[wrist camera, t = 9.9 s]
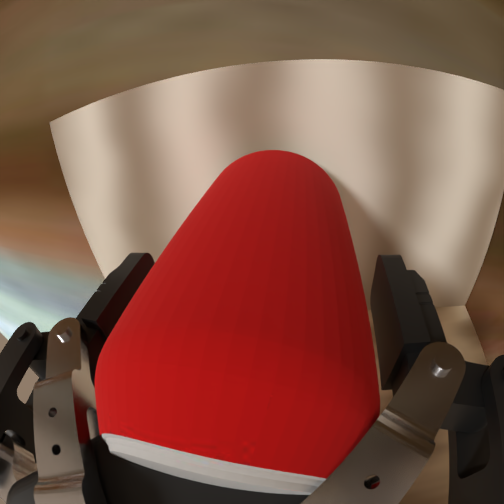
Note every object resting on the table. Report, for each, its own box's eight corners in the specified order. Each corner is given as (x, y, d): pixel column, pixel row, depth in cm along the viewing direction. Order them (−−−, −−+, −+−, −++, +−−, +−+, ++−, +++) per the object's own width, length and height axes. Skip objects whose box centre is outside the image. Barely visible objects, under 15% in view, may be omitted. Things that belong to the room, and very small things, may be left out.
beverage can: (365, 196, 13) (443, 479, 3) (287, 276, 16) (256, 505, 6) (259, 117, 11) (50, 376, 2) (194, 216, 15) (66, 437, 5)
